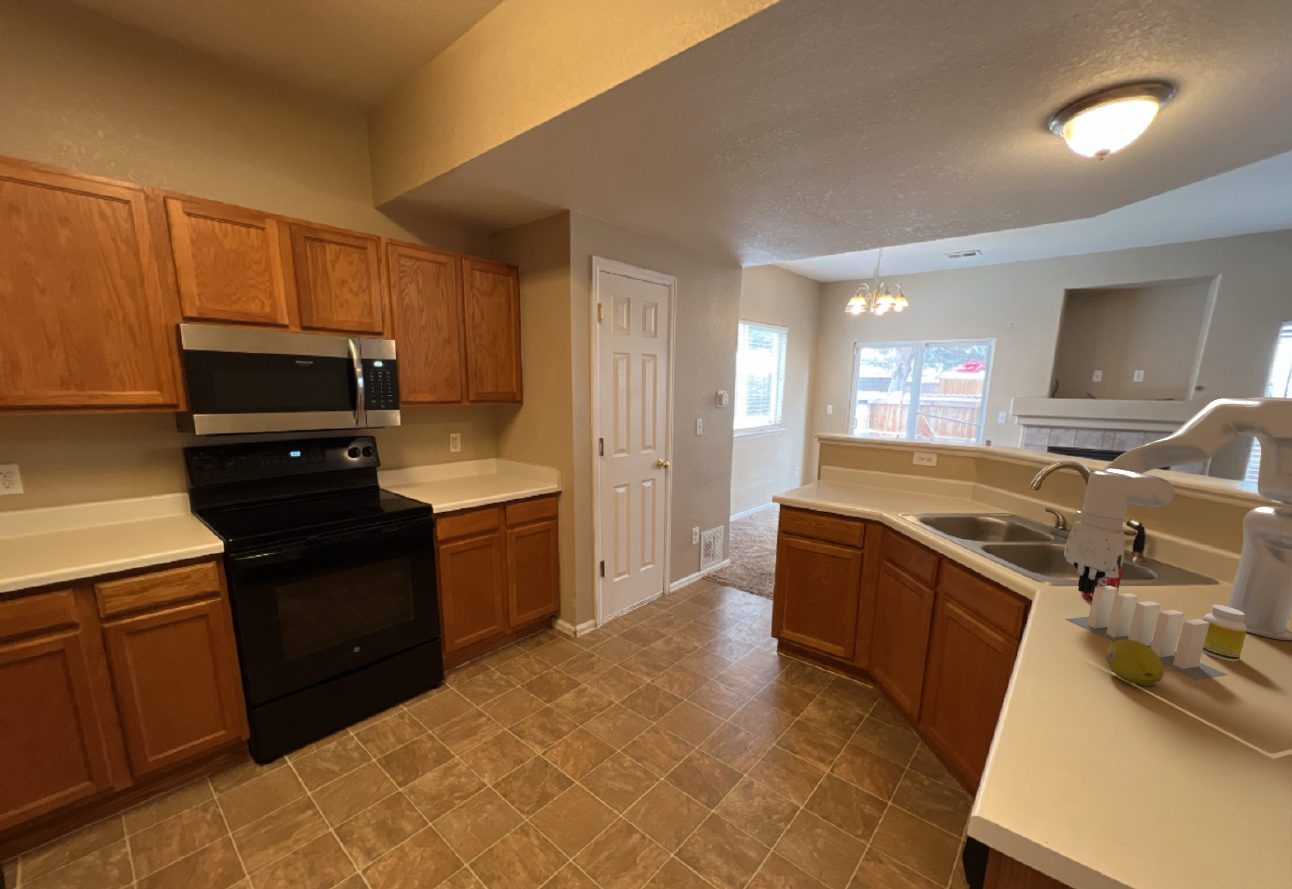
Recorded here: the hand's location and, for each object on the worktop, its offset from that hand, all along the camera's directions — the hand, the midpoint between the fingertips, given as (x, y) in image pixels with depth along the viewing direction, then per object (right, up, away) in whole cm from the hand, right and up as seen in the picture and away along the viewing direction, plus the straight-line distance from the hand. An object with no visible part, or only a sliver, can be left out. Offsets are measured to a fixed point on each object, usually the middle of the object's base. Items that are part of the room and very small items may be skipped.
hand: (1085, 591), depth 119 cm
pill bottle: (+19, -11, -12) cm, 25 cm away
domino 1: (+1, -8, -3) cm, 8 cm away
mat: (+3, -9, -10) cm, 14 cm away
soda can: (+15, -7, +13) cm, 21 cm away
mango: (-13, -11, -24) cm, 29 cm away
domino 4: (+4, -10, -14) cm, 17 cm away
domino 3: (+3, -9, -10) cm, 14 cm away
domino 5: (+5, -10, -18) cm, 21 cm away
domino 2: (+2, -8, -6) cm, 11 cm away
